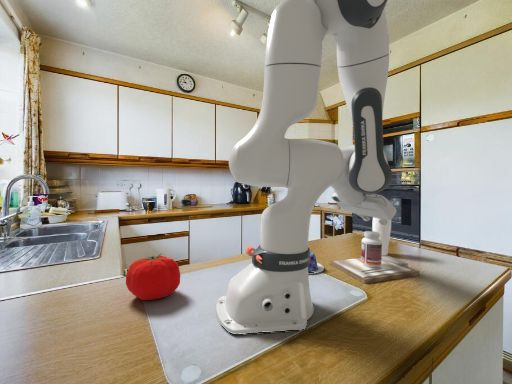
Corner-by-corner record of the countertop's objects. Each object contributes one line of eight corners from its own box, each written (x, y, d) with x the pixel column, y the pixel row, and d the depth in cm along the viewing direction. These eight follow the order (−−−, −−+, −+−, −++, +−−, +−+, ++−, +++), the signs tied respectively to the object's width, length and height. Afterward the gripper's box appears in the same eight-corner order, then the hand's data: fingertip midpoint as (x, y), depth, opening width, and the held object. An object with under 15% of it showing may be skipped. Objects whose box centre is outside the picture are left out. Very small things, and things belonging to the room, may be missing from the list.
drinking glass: (390, 253, 96) (391, 217, 96) (389, 258, 91) (391, 219, 90) (372, 250, 100) (373, 215, 99) (370, 254, 94) (371, 217, 94)
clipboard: (364, 283, 68) (364, 275, 68) (330, 264, 83) (330, 257, 83) (419, 274, 75) (419, 267, 75) (378, 258, 90) (378, 252, 90)
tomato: (176, 305, 55) (176, 262, 54) (118, 309, 53) (117, 265, 52) (183, 284, 66) (183, 248, 65) (135, 287, 64) (134, 250, 63)
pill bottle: (384, 265, 78) (386, 233, 78) (375, 269, 75) (376, 235, 74) (367, 260, 83) (368, 229, 83) (357, 263, 80) (358, 231, 79)
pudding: (290, 275, 74) (291, 259, 73) (285, 261, 86) (285, 247, 85) (328, 275, 74) (329, 259, 73) (318, 262, 86) (318, 248, 85)
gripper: (386, 186, 65) (410, 220, 69) (338, 184, 85) (359, 210, 88) (373, 202, 64) (398, 235, 68) (327, 197, 83) (349, 223, 87)
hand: (376, 221), depth 78 cm, fingers open, 6 cm apart
